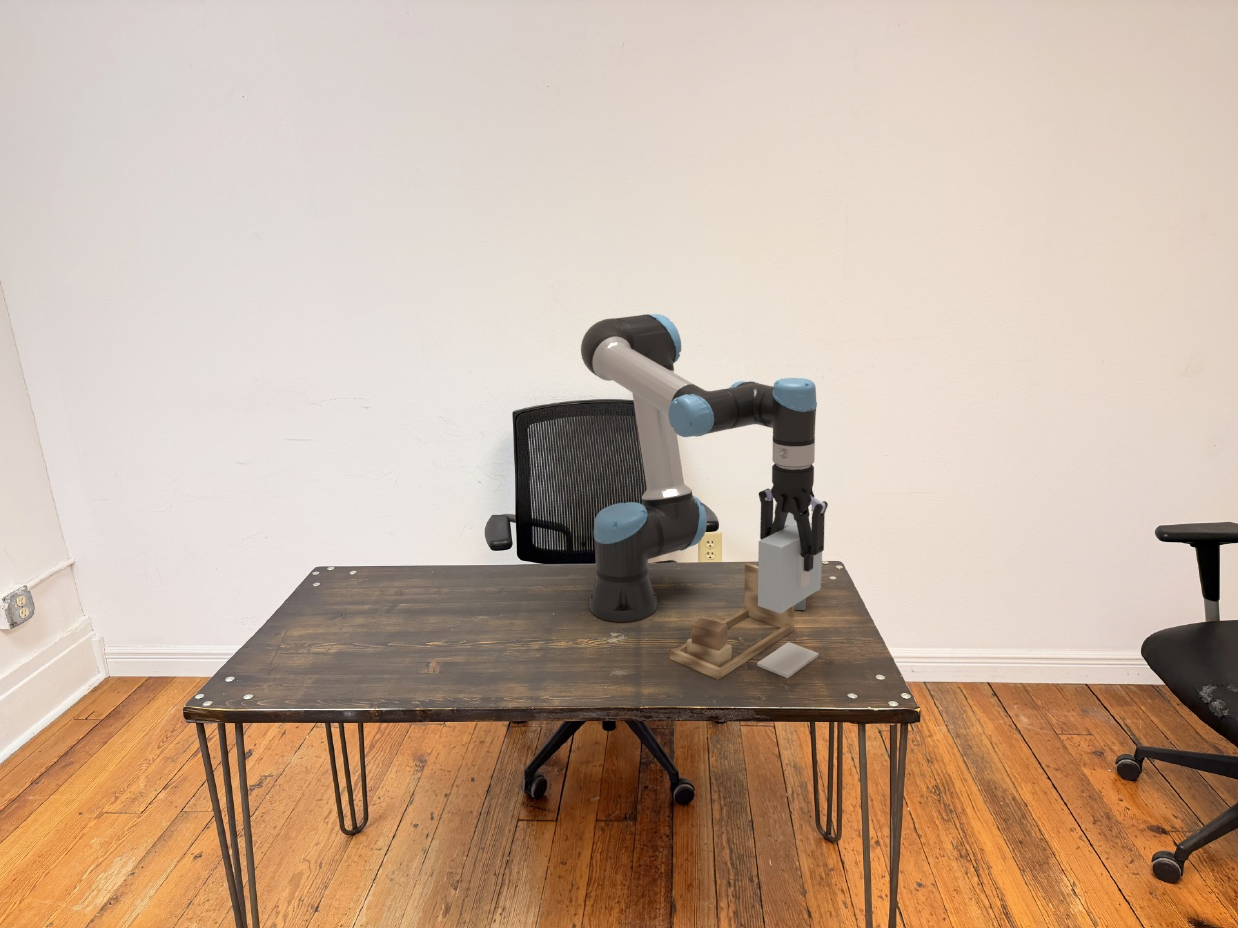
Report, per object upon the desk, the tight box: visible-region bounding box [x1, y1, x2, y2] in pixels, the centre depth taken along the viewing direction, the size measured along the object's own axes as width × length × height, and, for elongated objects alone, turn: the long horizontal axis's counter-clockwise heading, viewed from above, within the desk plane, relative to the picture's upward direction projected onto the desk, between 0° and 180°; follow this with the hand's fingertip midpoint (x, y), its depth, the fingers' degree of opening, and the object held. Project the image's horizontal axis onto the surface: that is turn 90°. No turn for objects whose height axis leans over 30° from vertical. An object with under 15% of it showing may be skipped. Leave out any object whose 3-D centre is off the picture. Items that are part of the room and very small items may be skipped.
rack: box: [669, 562, 796, 681], centre depth 166 cm, size 12×26×12 cm, turn 136°
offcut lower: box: [686, 638, 733, 668], centre depth 161 cm, size 8×4×4 cm, turn 45°
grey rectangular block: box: [757, 522, 823, 614], centre depth 155 cm, size 5×14×13 cm, turn 136°
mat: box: [756, 641, 820, 679], centre depth 161 cm, size 7×11×1 cm, turn 136°
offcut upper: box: [690, 616, 728, 651], centre depth 160 cm, size 6×4×4 cm, turn 56°
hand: (790, 581), depth 156 cm, fingers closed on grey rectangular block, 5 cm apart
